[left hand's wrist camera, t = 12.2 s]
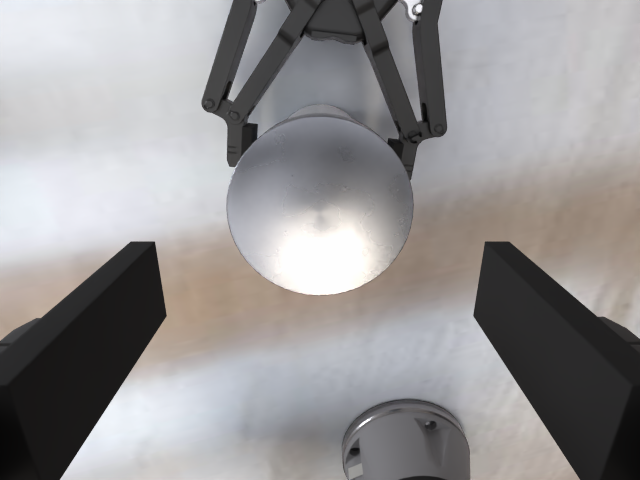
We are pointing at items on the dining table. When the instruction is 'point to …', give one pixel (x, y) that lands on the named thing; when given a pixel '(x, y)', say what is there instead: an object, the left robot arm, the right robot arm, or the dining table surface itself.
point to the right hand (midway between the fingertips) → (314, 214)
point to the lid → (320, 204)
